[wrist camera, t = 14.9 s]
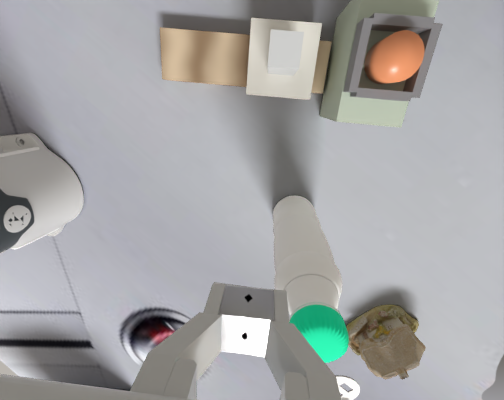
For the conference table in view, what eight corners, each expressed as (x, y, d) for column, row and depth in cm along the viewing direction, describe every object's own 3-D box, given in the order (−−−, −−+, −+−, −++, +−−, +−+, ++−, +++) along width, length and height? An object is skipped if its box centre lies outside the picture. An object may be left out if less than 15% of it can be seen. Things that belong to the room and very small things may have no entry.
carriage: (248, 94, 34) (239, 92, 25) (253, 25, 31) (245, -7, 22) (306, 99, 34) (320, 99, 24) (317, 30, 31) (337, 0, 21)
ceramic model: (399, 294, 48) (430, 341, 38) (424, 330, 51) (459, 382, 41) (334, 324, 52) (348, 373, 42) (361, 356, 54) (379, 408, 45)
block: (167, 80, 36) (162, 79, 34) (165, 31, 34) (159, 27, 32) (319, 93, 35) (322, 93, 34) (328, 44, 33) (331, 41, 31)
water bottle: (264, 208, 43) (257, 337, 20) (300, 186, 41) (338, 299, 18) (287, 238, 45) (305, 388, 21) (322, 218, 43) (383, 359, 19)
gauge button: (360, 82, 25) (370, 80, 23) (370, 36, 24) (383, 28, 21) (399, 85, 25) (415, 84, 23) (412, 39, 24) (431, 32, 21)
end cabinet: (319, 116, 37) (341, 123, 25) (337, 14, 32) (373, -32, 21) (367, 120, 36) (410, 129, 25) (392, 18, 32) (459, -26, 21)
